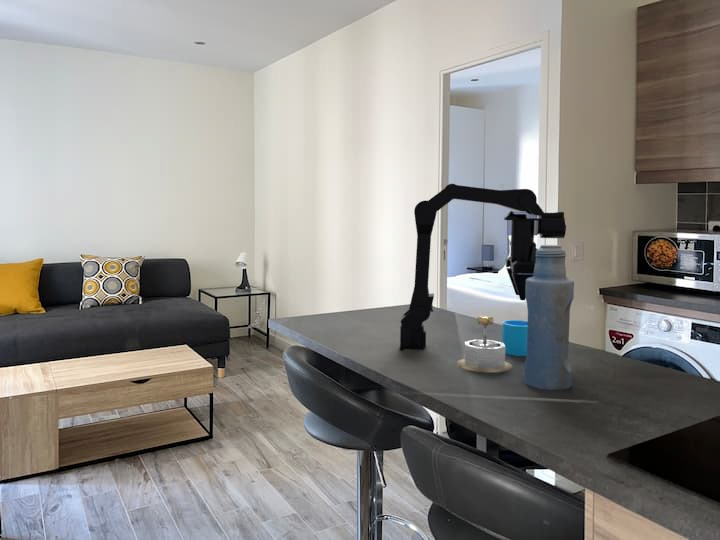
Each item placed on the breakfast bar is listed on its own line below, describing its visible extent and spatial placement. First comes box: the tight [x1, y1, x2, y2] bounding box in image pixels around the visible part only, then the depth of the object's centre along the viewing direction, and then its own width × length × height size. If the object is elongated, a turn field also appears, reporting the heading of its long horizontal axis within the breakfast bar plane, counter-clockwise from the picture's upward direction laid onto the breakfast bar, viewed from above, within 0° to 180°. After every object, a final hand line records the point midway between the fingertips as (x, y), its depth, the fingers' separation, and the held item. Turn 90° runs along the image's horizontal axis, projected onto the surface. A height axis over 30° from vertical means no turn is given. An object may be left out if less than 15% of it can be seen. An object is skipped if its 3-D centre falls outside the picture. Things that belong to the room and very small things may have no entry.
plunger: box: [472, 315, 498, 348], centre depth 134 cm, size 6×6×7 cm
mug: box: [501, 319, 528, 357], centre depth 149 cm, size 12×8×8 cm
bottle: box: [522, 244, 575, 391], centre depth 119 cm, size 10×10×30 cm
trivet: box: [456, 358, 513, 373], centre depth 134 cm, size 13×13×1 cm
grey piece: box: [463, 338, 506, 370], centre depth 136 cm, size 9×12×5 cm
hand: (520, 297), depth 147 cm, fingers open, 9 cm apart
